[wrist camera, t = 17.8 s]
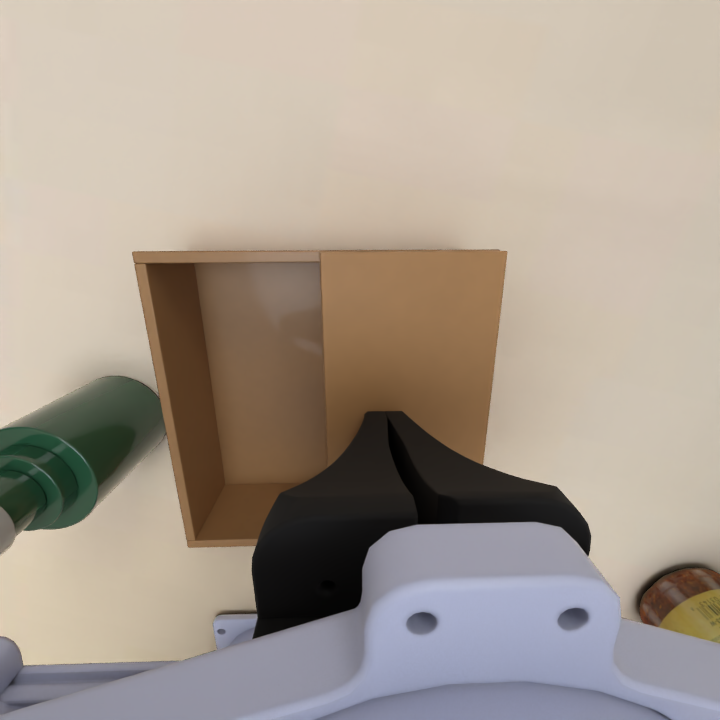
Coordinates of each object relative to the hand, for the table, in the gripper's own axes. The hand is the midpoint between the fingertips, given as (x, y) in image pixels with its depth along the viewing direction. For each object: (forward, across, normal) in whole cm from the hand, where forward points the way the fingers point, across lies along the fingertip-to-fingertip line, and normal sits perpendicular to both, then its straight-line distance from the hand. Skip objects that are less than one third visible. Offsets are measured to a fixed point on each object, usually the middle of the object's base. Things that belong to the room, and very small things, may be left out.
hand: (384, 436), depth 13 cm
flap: (+1, -1, 0) cm, 1 cm away
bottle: (+6, +13, +2) cm, 15 cm away
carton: (+6, +2, 0) cm, 6 cm away
